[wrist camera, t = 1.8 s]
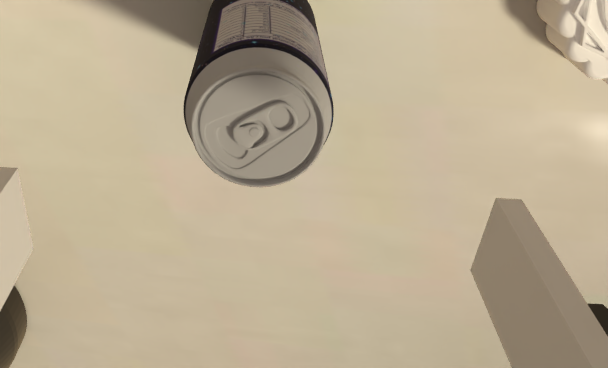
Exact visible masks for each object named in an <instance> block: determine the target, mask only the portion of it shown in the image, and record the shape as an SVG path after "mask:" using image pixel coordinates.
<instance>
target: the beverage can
mask: <svg viewBox="0 0 608 368" xmlns="http://www.w3.org/2000/svg"><path fill="white" fill-rule="evenodd" d="M184 119H185V124H186V127H187V130H188V133H189V135H190V137H191V139H192V141H193V143H194V146H195V149H196V151H197V152H198V154H199V156H200V158H201V159H202V160H203V161H204V163H205V164H206V165H207V166H208V167H209V168H210V169H211V170H212V171H213V172H215V173H216V174H218V175H219V176H221V177H222V178H224V179H226V180H228V181H230V182H233V183H236V184H239V185H244V186H249V187H270V186H275V185H279V184H282V183H285V182H288V181H290V180H292V179H294V178H296V177H298V176H299V175H301V174H302V173H303V172H305V171H306V170H307V169H308V168H309V167H310V166H311V165H312V164H313V162H314V161H315V160H316V158H317V157H318V155H319V153H320V151H321V149H322V147H323V145H324V144H325V142H326V140H327V138H328V136H329V133H330V130H331V127H332V123H333V101H332V96H331V92H330V87H329V83H328V78H327V73H326V69H325V64H324V59H323V55H322V50H321V46H320V41H319V36H318V32H317V27H316V23H315V18H314V14H313V11H312V9H311V6H310V4H309V3H308V1H307V0H214V2H213V4H212V6H211V8H210V11H209V14H208V17H207V21H206V24H205V28H204V31H203V35H202V39H201V42H200V46H199V49H198V53H197V56H196V60H195V63H194V67H193V70H192V74H191V77H190V81H189V84H188V88H187V91H186V95H185V100H184Z"/></svg>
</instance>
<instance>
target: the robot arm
mask: <svg viewBox="0 0 608 368" xmlns="http://www.w3.org/2000/svg"><path fill="white" fill-rule="evenodd" d="M33 249H34V248H33V243H32V237H31V232H30V227H29V222H28V217H27V212H26V207H25V202H24V197H23V192H22V187H21V182H20V177H19V172H18V168H7V167H0V368H9V367H10V365H11V364H12V362H13V360H14V358H15V356H16V354H17V351H18V349H19V347H20V345H21V343H22V340H23V338H24V336H25V332H26V327H27V315H26V310H25V306H24V303H23V301H22V298H21V296H20V294H19V292H18V291H17V289H16V287H15V286H14V285H15V283H16V281H17V279H18V277H19V275H20V273H21V271H22V270H23V268H24V266H25V264H26V262H27V260H28V258H29V256H30V255H31V253H32V251H33ZM471 273H472V275H473V277H474V280H475V282H476V284H477V287H478V289H479V291H480V294H481V296H482V298H483V301H484V303H485V305H486V308H487V310H488V313H489V315H490V317H491V320H492V322H493V324H494V327H495V329H496V331H497V334H498V336H499V338H500V341H501V343H502V346H503V348H504V350H505V353H506V355H507V357H508V360H509V362H510V364H511V367H512V368H608V309H607V308H606V307H605V306H604V305H603V304H587V303H586V301H585V300H584V298H583V296H582V295H581V293H580V292H579V290H578V288H577V287H576V285H575V284H574V282H573V281H572V279H571V277H570V276H569V274H568V273H567V271H566V269H565V268H564V266H563V265H562V263H561V261H560V260H559V258H558V257H557V255H556V253H555V252H554V250H553V249H552V247H551V246H550V244H549V242H548V241H547V239H546V238H545V236H544V234H543V233H542V231H541V230H540V228H539V226H538V225H537V223H536V222H535V220H534V219H533V217H532V215H531V214H530V212H529V211H528V209H527V207H526V206H525V204H524V203H523V201H522V200H521V199H505V198H496V199H495V202H494V205H493V208H492V211H491V213H490V216H489V219H488V222H487V225H486V228H485V230H484V233H483V236H482V239H481V242H480V245H479V247H478V250H477V253H476V256H475V259H474V262H473V264H472V267H471Z"/></svg>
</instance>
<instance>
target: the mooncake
mask: <svg viewBox="0 0 608 368" xmlns="http://www.w3.org/2000/svg"><path fill="white" fill-rule="evenodd" d="M536 9H537V13H538V15H539V17H540V18H541V19H542V20H543V21H544V22H546V23H547V25H546V36H547V39H548V40H549V41H550V42H551V43H552V44H553V45H554V46H555V47H557V48H558V49H559V50H560V51H561V52H563V55H564V56H565V58H566V59H567V60H569V61H570V62H571V63H572V64H573V65H574V66H576V67H577V68H578V69H579V70H580V71H581V72H583V73H584V74H585V75H586V76H587V77H589V78H592V79H602V80H603V81H605V82H606V83H607V84H608V0H538V1H537V6H536Z"/></svg>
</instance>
